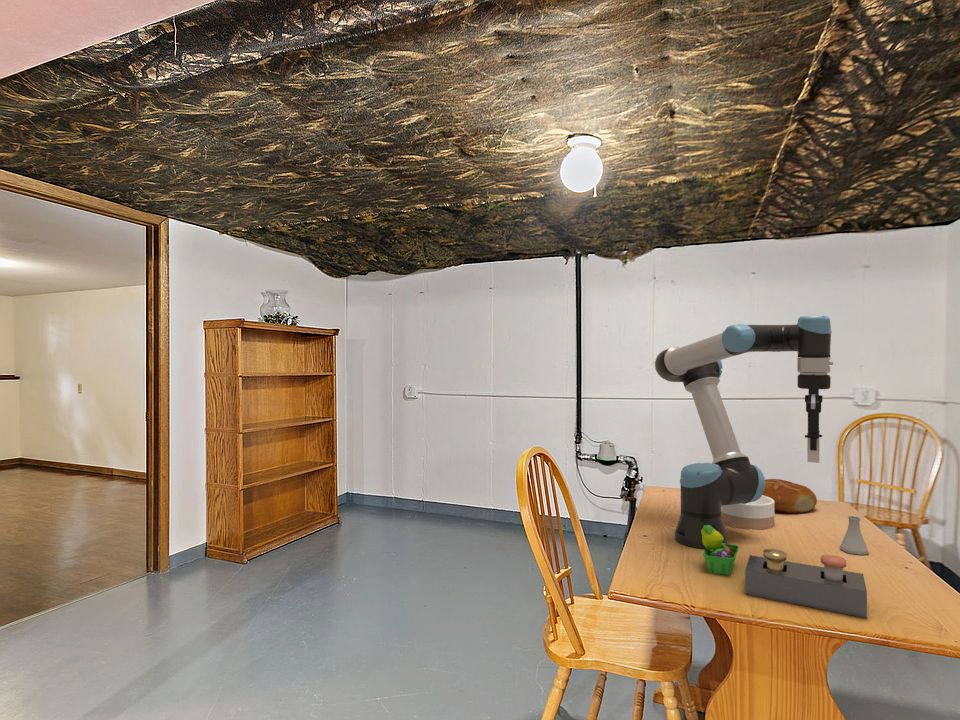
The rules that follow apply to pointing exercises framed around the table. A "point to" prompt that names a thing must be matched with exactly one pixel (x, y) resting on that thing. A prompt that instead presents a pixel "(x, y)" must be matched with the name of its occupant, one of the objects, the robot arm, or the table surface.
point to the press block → (807, 587)
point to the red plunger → (833, 567)
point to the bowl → (750, 514)
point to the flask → (854, 538)
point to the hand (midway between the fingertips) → (813, 461)
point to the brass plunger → (775, 559)
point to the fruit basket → (717, 551)
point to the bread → (789, 496)
